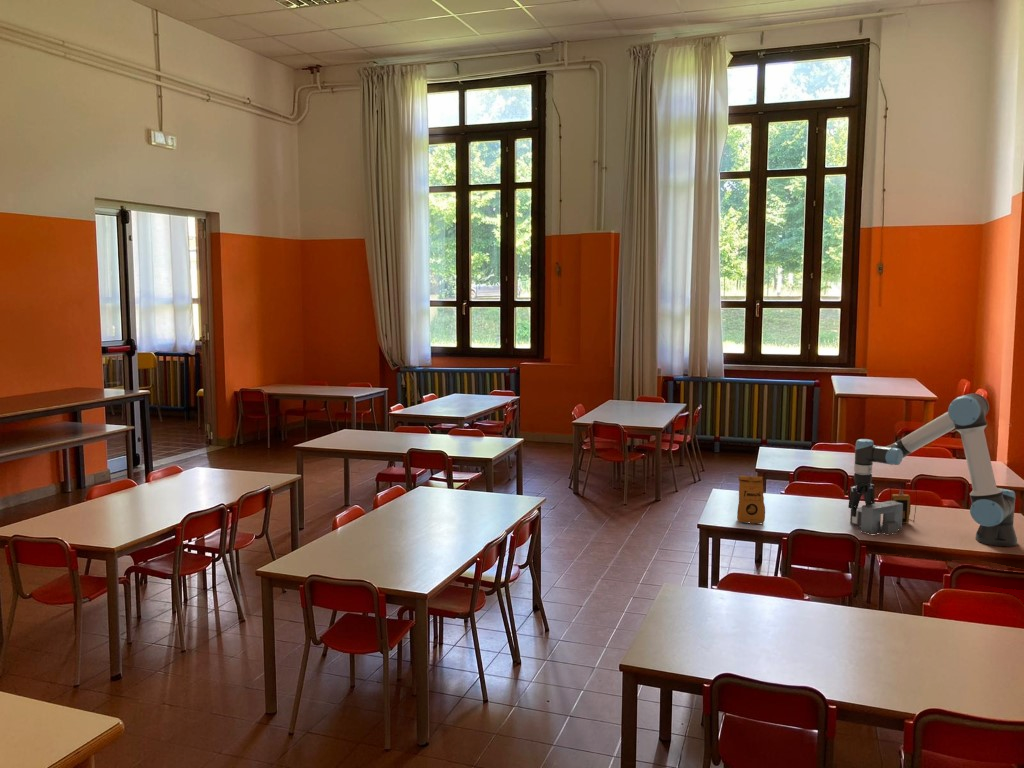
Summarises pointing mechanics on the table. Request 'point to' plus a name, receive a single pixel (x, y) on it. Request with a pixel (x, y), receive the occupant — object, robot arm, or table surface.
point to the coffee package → (751, 500)
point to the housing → (873, 515)
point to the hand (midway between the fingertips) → (860, 521)
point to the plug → (885, 527)
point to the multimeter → (906, 503)
